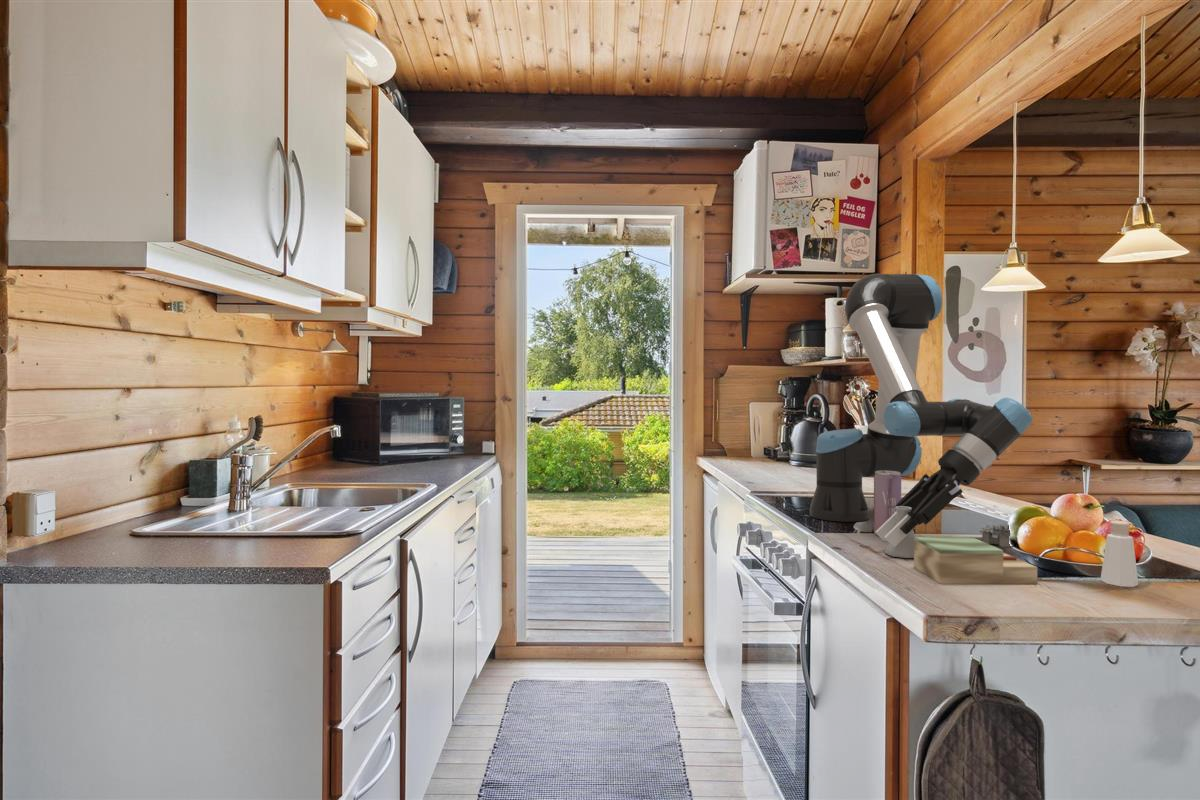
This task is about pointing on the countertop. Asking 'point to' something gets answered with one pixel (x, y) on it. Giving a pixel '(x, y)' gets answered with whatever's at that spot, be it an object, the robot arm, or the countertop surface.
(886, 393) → the robot arm
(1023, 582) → the stand
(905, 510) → the flask
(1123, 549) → the salt shaker
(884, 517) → the beverage can
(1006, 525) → the egg carton
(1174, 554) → the countertop surface
